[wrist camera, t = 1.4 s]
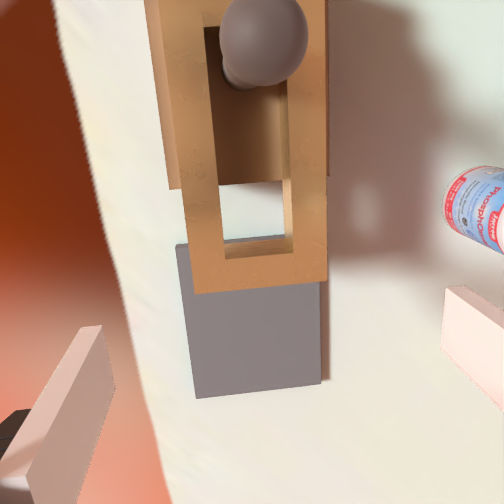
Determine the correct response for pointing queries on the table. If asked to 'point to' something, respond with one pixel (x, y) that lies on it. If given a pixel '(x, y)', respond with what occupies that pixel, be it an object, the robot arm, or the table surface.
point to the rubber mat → (251, 334)
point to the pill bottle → (477, 205)
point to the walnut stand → (241, 86)
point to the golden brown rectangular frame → (292, 156)
